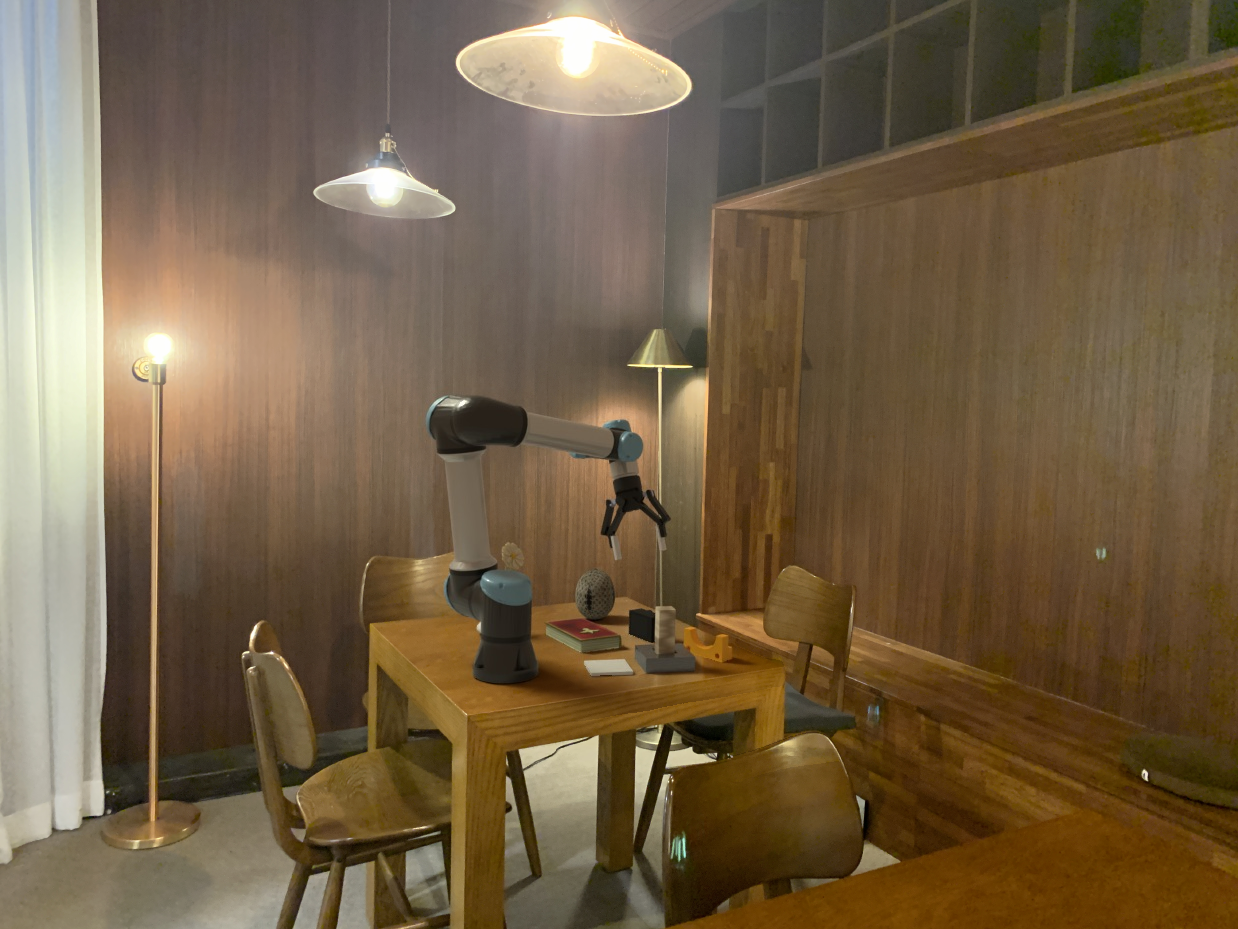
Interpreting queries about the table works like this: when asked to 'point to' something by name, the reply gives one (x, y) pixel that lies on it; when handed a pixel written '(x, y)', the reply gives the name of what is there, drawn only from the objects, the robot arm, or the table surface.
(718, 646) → the pipe clamp
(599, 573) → the decorative egg
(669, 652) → the birch peg
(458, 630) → the table surface
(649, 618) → the black rectangular block
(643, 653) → the socket block
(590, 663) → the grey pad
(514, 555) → the flower in vase
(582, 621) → the hardcover book
